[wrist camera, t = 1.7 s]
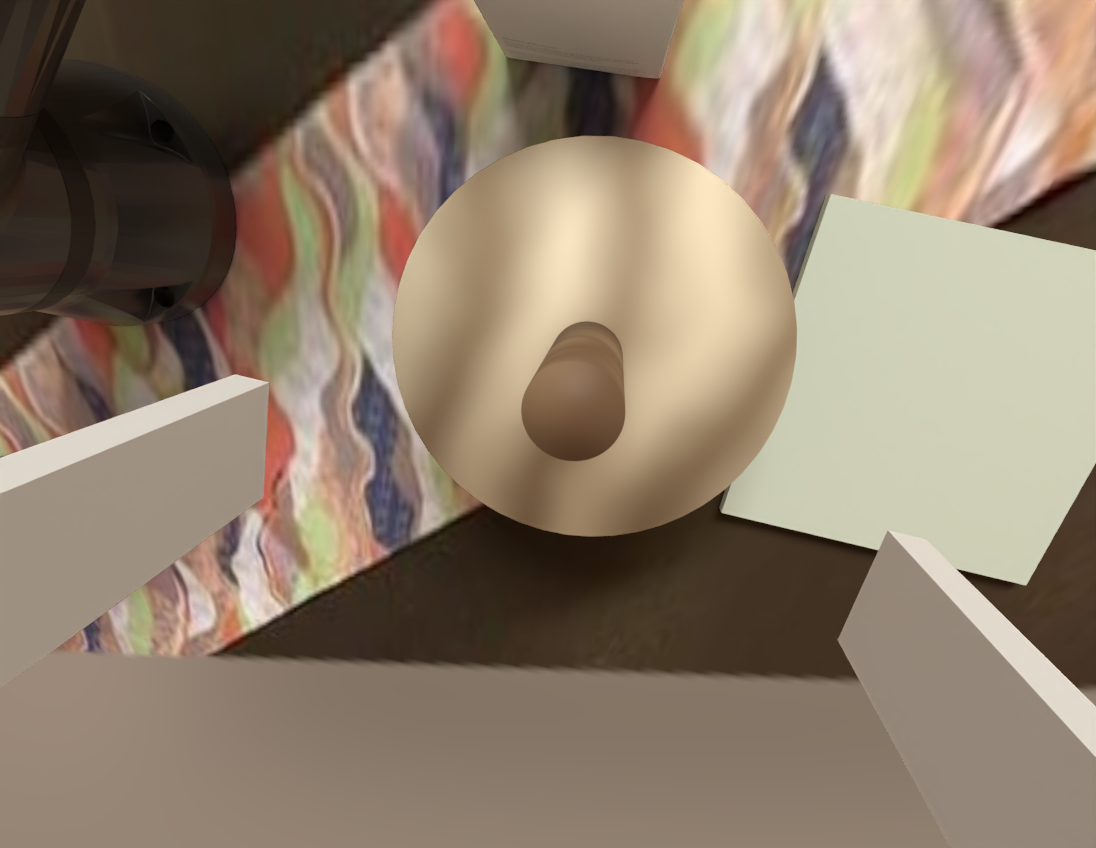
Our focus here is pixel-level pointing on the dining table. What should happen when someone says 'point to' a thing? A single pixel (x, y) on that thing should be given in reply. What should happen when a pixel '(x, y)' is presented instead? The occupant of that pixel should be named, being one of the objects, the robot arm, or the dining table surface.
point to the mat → (933, 390)
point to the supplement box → (586, 32)
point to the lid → (594, 336)
